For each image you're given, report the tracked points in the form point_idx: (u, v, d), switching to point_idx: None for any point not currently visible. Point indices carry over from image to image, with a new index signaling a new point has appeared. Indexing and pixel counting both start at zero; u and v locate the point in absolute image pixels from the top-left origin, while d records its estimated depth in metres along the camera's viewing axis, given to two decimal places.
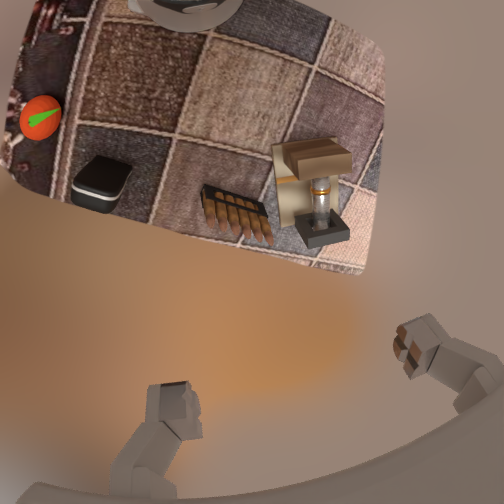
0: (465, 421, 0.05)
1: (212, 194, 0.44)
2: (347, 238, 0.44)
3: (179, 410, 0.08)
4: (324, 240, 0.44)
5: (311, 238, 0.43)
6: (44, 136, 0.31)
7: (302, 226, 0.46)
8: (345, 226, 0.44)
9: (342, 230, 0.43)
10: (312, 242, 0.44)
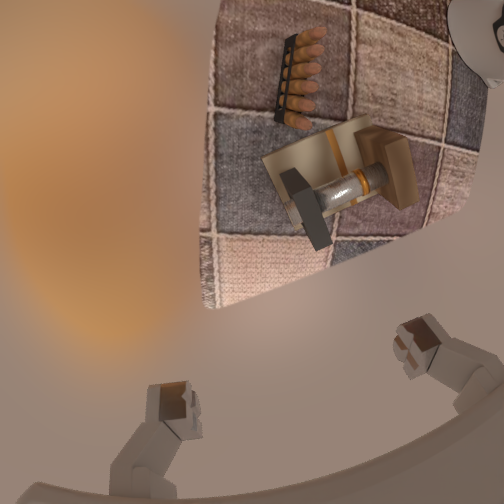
0: (465, 421, 0.05)
1: None
2: (318, 247, 0.30)
3: (179, 410, 0.08)
4: (311, 214, 0.28)
5: (312, 192, 0.27)
6: None
7: None
8: None
9: (329, 234, 0.30)
10: (305, 196, 0.27)
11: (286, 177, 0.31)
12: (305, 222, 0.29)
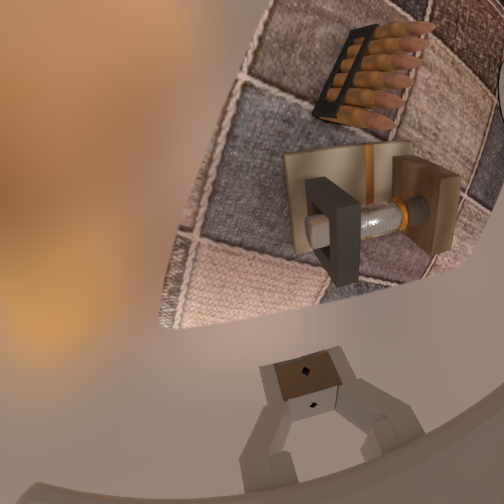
0: (465, 421, 0.05)
1: None
2: (340, 282, 0.23)
3: (303, 386, 0.08)
4: (348, 238, 0.21)
5: (359, 210, 0.20)
6: None
7: None
8: None
9: (358, 269, 0.23)
10: (350, 214, 0.20)
11: (317, 185, 0.24)
12: (338, 248, 0.21)
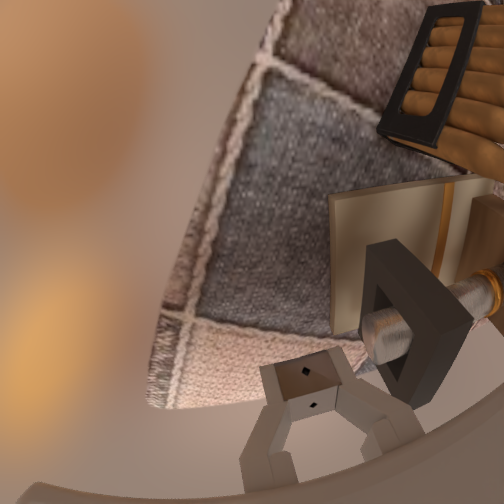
0: (465, 422, 0.05)
1: None
2: None
3: (303, 386, 0.08)
4: (440, 366, 0.10)
5: (468, 328, 0.09)
6: None
7: None
8: None
9: (436, 390, 0.12)
10: (455, 337, 0.09)
11: (392, 263, 0.13)
12: (422, 380, 0.11)
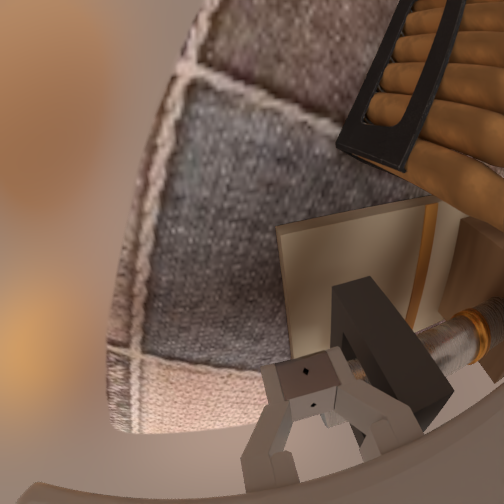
0: (465, 421, 0.05)
1: None
2: None
3: (304, 386, 0.08)
4: None
5: (445, 400, 0.07)
6: None
7: None
8: None
9: None
10: (428, 411, 0.07)
11: (360, 312, 0.11)
12: None
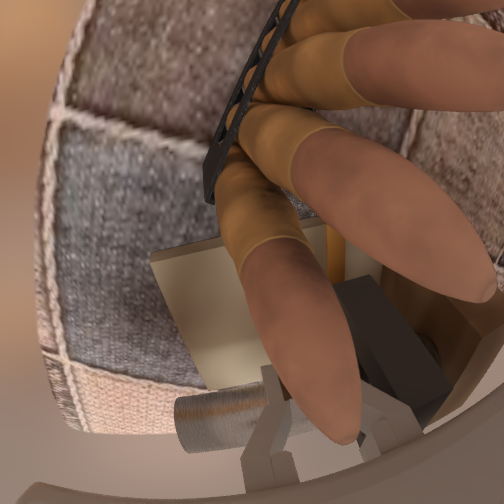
0: (465, 421, 0.05)
1: None
2: None
3: None
4: None
5: (444, 397, 0.07)
6: None
7: None
8: None
9: None
10: (427, 409, 0.07)
11: (360, 310, 0.11)
12: None
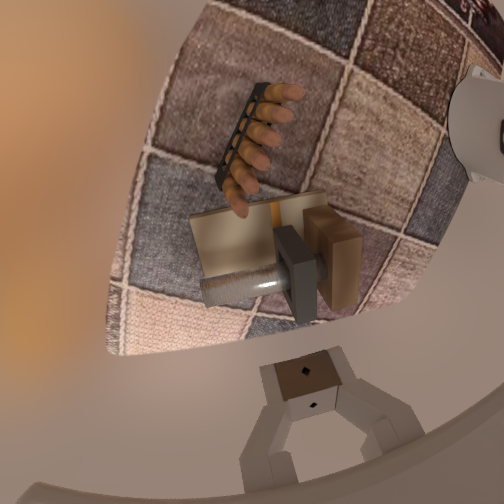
0: (465, 422, 0.05)
1: None
2: (300, 321, 0.27)
3: (303, 386, 0.08)
4: (305, 287, 0.25)
5: (314, 265, 0.24)
6: None
7: None
8: None
9: (316, 310, 0.27)
10: (306, 268, 0.24)
11: (282, 236, 0.28)
12: (297, 295, 0.25)
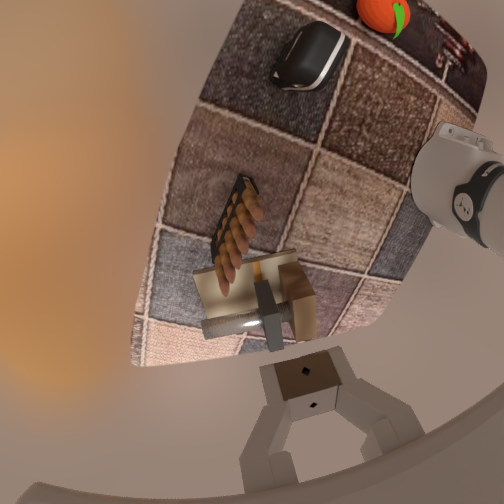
0: (465, 421, 0.05)
1: None
2: (272, 350, 0.38)
3: (303, 386, 0.08)
4: (273, 329, 0.36)
5: (278, 316, 0.35)
6: (369, 8, 0.22)
7: None
8: None
9: (283, 343, 0.37)
10: (272, 318, 0.35)
11: (259, 290, 0.39)
12: (267, 334, 0.36)
